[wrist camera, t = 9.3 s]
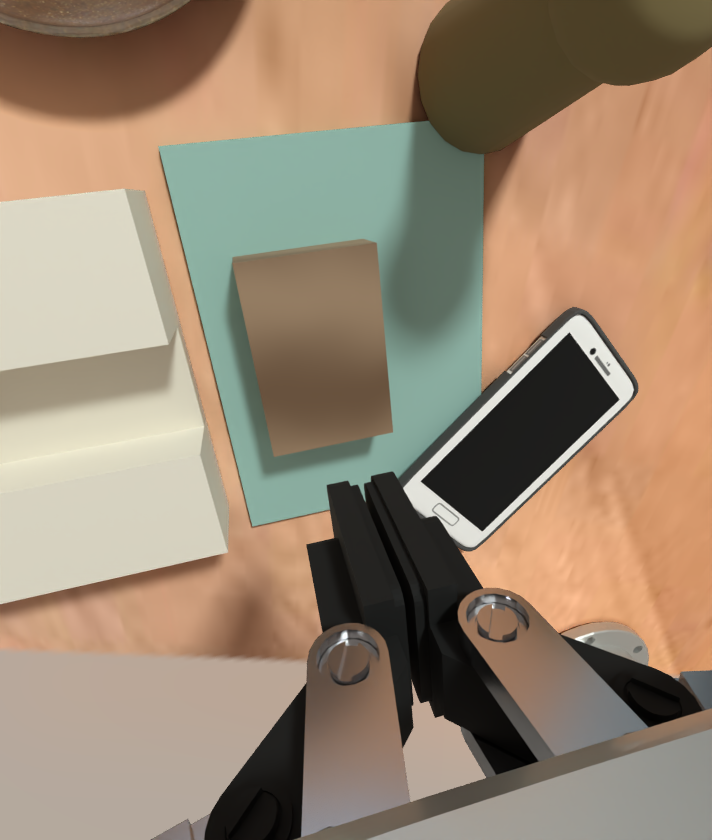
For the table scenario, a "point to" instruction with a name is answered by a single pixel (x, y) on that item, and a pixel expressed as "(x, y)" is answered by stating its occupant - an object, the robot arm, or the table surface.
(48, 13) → the saucer
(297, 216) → the mat
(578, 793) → the robot arm
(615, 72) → the pepper mill
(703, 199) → the table surface
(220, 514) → the slotted block
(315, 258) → the brown flat block
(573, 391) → the cell phone
